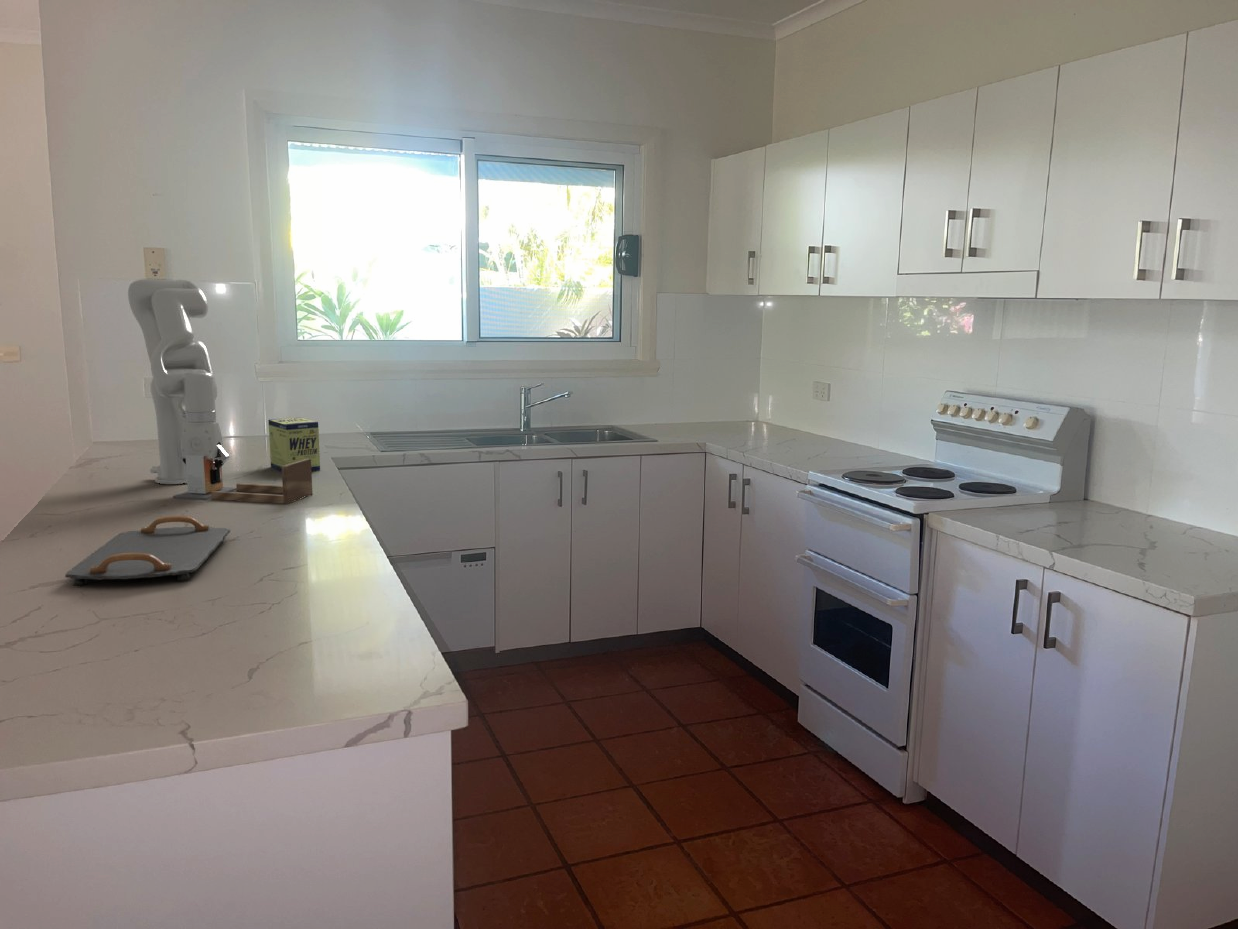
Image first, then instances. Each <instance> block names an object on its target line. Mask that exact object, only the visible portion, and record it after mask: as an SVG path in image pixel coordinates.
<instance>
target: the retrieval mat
mask: <svg viewBox="0 0 1238 929" xmlns="http://www.w3.org/2000/svg"><path fill="white" fill-rule="evenodd" d="M234 490H235V491H237V488H236V487H229V486H223V489H221V490H217V491H222V492H231V491H232V492H235V491H234ZM173 497H176V498H175V499H189V498H190V499H191V500H205V501H206V500H209V499H211V492H209V493H206V494H199V493H188V491H185V492H182V493H178V494H175V495H173V496H172V498H173Z"/></svg>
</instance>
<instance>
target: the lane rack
mask: <svg viewBox="0 0 1238 929" xmlns="http://www.w3.org/2000/svg"><path fill="white" fill-rule="evenodd" d="M312 472H313V471H311V459H304V460H301V461H297V462H294V463H291V464H287V465H284V466H282V471H281V478H282V479H281V480H282V482H281V483H282V485H275V484H259V483H258V484H257V483H242V482H241V483H236V484H235V485H236V487H235V488H237V490H236V491H232V492H222V491H212V492H211V498H210V499H211V500H221V501H222V500H223V501H233V500H242V501H241V502H250V501H257V502H256V503H267V502H270V503H272V504H284V503H288V504H291V503H293V502H292V501H294V500H296V501H298V499H299V500H301V499H300V498H302V497H304V496H307V497H309V495H310V496H312V495H311V494H313V477H312V476H313V474H312ZM243 491H246V492H243ZM261 492H262V493H261ZM278 493H283V494H278ZM302 499H303V498H302ZM290 502H291V503H290ZM294 502H295V501H294ZM270 503H269V504H270Z"/></svg>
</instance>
